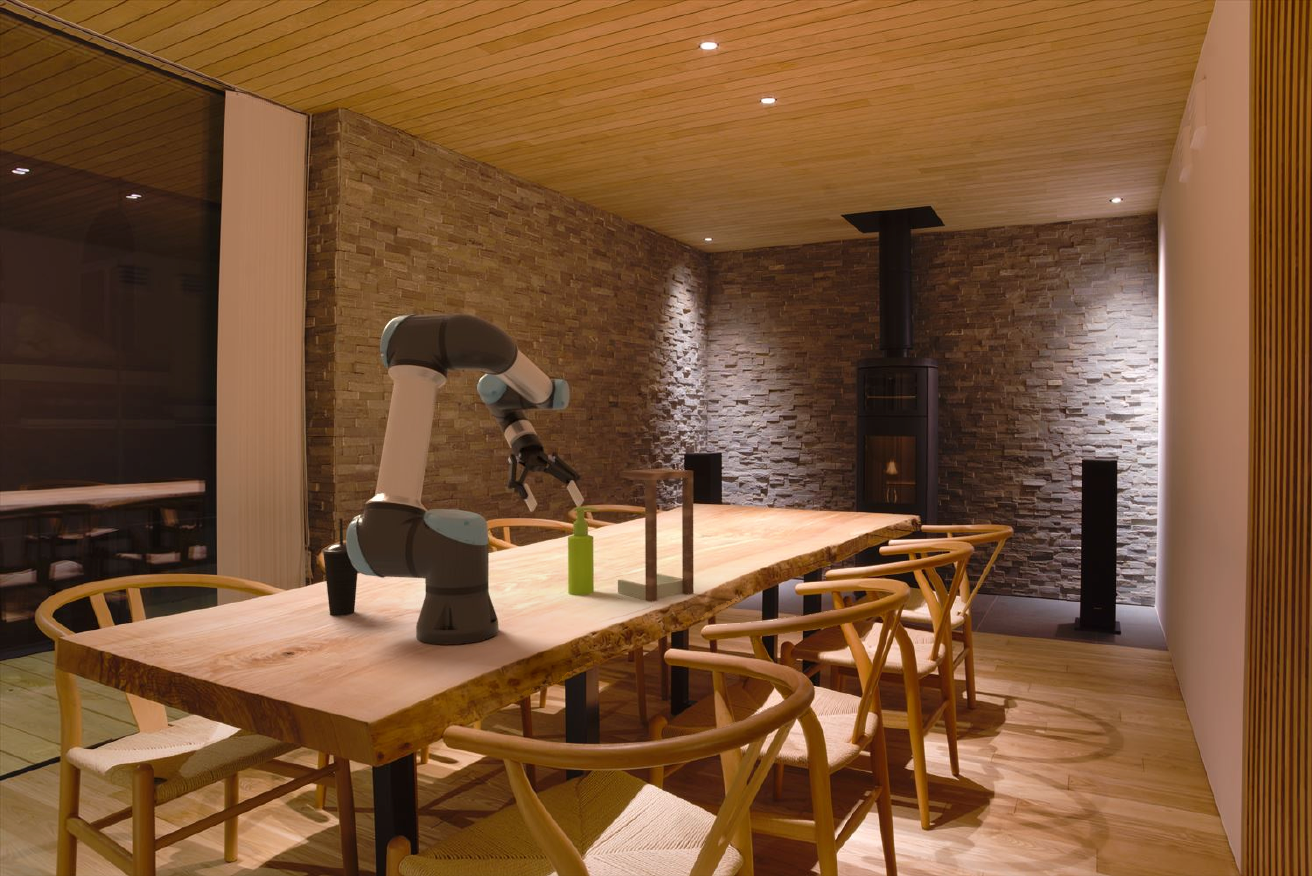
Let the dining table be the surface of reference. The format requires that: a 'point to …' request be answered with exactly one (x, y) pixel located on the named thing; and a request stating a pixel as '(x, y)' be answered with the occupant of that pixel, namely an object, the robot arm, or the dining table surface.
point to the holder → (664, 587)
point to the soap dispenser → (580, 556)
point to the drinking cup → (340, 577)
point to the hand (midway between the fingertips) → (558, 505)
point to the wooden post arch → (651, 525)
